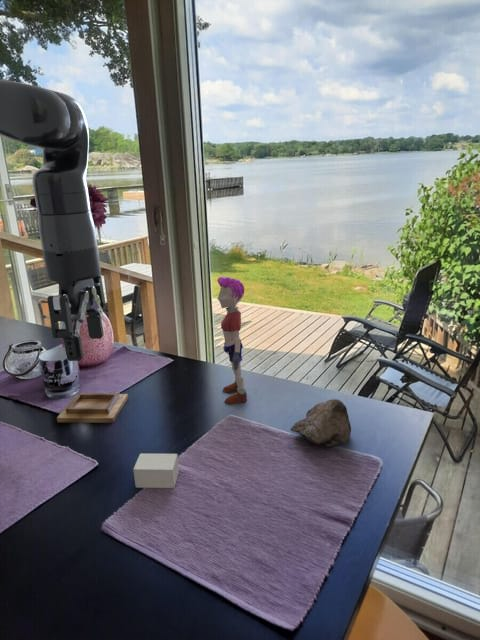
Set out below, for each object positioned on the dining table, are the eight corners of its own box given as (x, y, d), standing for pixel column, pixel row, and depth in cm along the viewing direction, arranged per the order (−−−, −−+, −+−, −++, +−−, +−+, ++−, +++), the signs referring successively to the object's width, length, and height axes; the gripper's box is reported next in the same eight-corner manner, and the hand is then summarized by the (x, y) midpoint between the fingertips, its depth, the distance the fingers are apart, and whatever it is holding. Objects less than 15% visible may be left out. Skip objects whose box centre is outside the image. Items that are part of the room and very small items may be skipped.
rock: (288, 436, 97) (275, 401, 93) (332, 412, 99) (321, 377, 95) (317, 472, 85) (304, 433, 81) (366, 444, 88) (356, 405, 84)
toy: (220, 381, 116) (214, 269, 106) (244, 379, 117) (240, 268, 106) (224, 413, 101) (218, 286, 91) (252, 410, 102) (249, 285, 92)
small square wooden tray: (57, 422, 100) (55, 413, 99) (77, 397, 110) (75, 389, 109) (113, 422, 99) (112, 413, 98) (128, 398, 109) (127, 389, 108)
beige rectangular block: (135, 487, 79) (133, 469, 77) (142, 471, 83) (140, 453, 81) (174, 488, 78) (172, 469, 77) (179, 471, 82) (177, 453, 81)
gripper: (66, 237, 70) (81, 332, 76) (18, 254, 57) (41, 368, 62) (112, 236, 70) (124, 331, 75) (75, 253, 56) (93, 368, 62)
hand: (86, 348), depth 69 cm, fingers open, 8 cm apart
